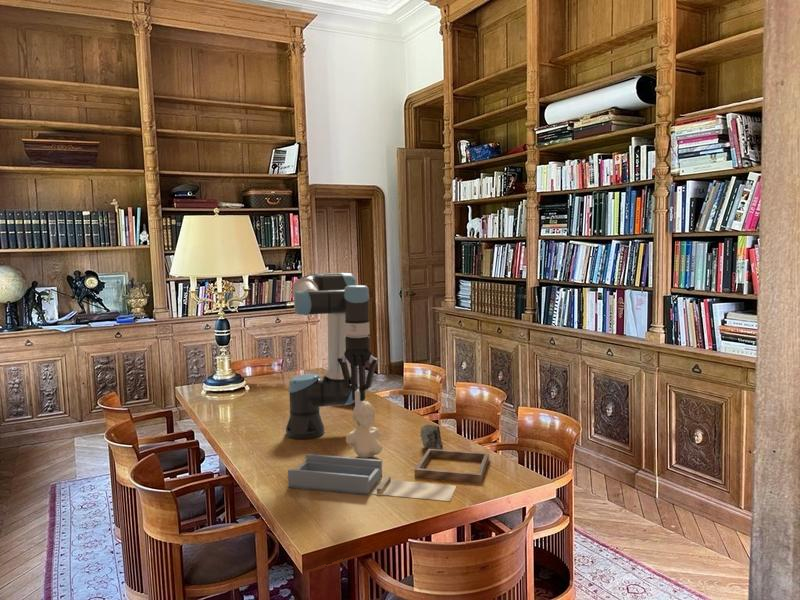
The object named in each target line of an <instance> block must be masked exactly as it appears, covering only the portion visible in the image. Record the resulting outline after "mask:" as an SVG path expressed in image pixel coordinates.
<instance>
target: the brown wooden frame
mask: <svg viewBox="0 0 800 600" xmlns="http://www.w3.org/2000/svg"><path fill="white" fill-rule="evenodd" d="M431 458H440V459H453V460H464V461H465V460H466V461H474V462H475V461H477V462H481V464H480V465H479V468H478V471H477V472H467V471H466V472H465V471H454V470H442V469H430V468H425V467H426V466H427V464H428V463H429V461H430V460H431ZM489 461H490V453H487V452H477V451H462V450H461V451H460V450H450V449H442V450H439V449H428V448H427V450H426V451H425V453H424V454H423V456H422V457H421V459H420V461H419V462H418V463H417V465H416V467H415V469H414V478H424V479H436V480H444V481H445V480H446V481H456V482H457V481H458V482H466V483H468V482H470V483H480V484H481V483H482V481H483V478H484V475H485V472H486V469H487V467H488V464H489ZM427 462H428V463H427Z"/></svg>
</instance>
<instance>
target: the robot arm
mask: <svg viewBox="0 0 800 600" xmlns="http://www.w3.org/2000/svg"><path fill="white" fill-rule="evenodd" d="M291 293H292V297H293V305H294V307H293V308H294V313H295V315H300V316H303V315H304V316H308V315H323V314H324V315H327V369H326V370H325V371H324V373H323V376H321V377H320V376H319V374H318V373H303V374H300V375H297V376H294V377H292V378H291V379H290V380H289V381H288V382H289V385H288V386H289V387H288V393H289V394H288V395H289V418H288V420H287V424H286V428H285V436H287V437H288V438H290V439H295V440H307V439H309V440H310V439H315V438H319V437H321V436H322V435H324V434H325V426H324V425H325V424H324V422H323V420H322V417H321V413H320V408H321V407H322V408H323V407H338V406H342V407H343V406H346V405H347V406H349V405H350V404H353V403H354V401H355V405H354V407H355V412H360V411H362V410H363V406H362V401H366V391H367V390H368V389H370V388H371V387H372V383H373V378H374V374H375V370H376V366H377V364H378V362H379V358H378V357H375V356H373V355H372V352H371V340H370V339H371V336H369V335H370V333H371V332H370V329H371V328H370V299H371V298H370V289H369V287H368V286H367V285H362V284H357V282H356V278H355V276H354V275H353V273H351V272H350V273H349V272H330V273H310V274H307V275H306V274H305V275H304V276H302V277H300V278H298V279H297V280H295V282H294V283H293V285H292V288H291ZM368 361H369V363H370V364H369V367H368V371H367V376H366V366H367V363H368ZM358 381H359V382H358ZM358 383H359V389H357V388H358Z"/></svg>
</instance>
